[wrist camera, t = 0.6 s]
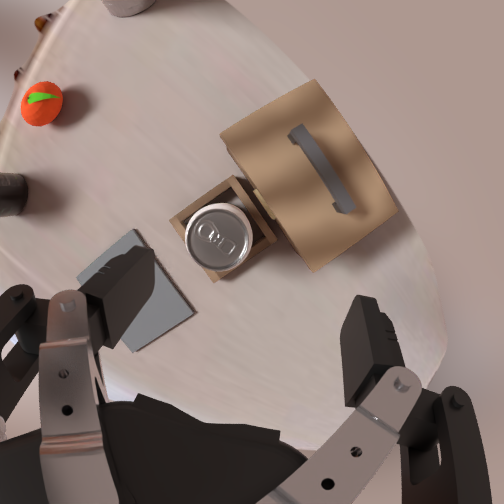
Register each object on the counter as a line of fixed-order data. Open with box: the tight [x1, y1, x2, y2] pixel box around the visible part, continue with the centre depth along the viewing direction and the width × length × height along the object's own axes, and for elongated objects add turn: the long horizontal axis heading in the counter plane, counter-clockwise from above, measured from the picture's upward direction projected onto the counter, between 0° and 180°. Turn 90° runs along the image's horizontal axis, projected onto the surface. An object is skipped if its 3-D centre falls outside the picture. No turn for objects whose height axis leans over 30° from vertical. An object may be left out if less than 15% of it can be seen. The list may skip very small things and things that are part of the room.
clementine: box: [21, 81, 63, 126], centre depth 30 cm, size 8×7×7 cm
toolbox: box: [169, 79, 398, 283], centre depth 31 cm, size 17×22×13 cm
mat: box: [76, 229, 194, 353], centre depth 39 cm, size 14×12×1 cm
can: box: [185, 203, 253, 271], centre depth 32 cm, size 6×6×12 cm
